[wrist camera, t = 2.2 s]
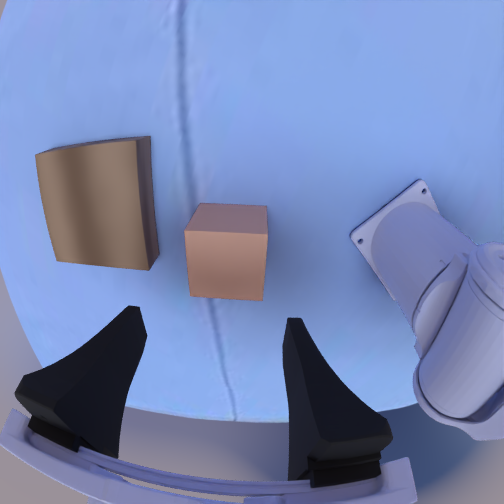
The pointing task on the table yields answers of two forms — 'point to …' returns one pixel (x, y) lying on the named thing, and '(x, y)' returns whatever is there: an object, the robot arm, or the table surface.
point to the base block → (100, 202)
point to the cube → (227, 251)
